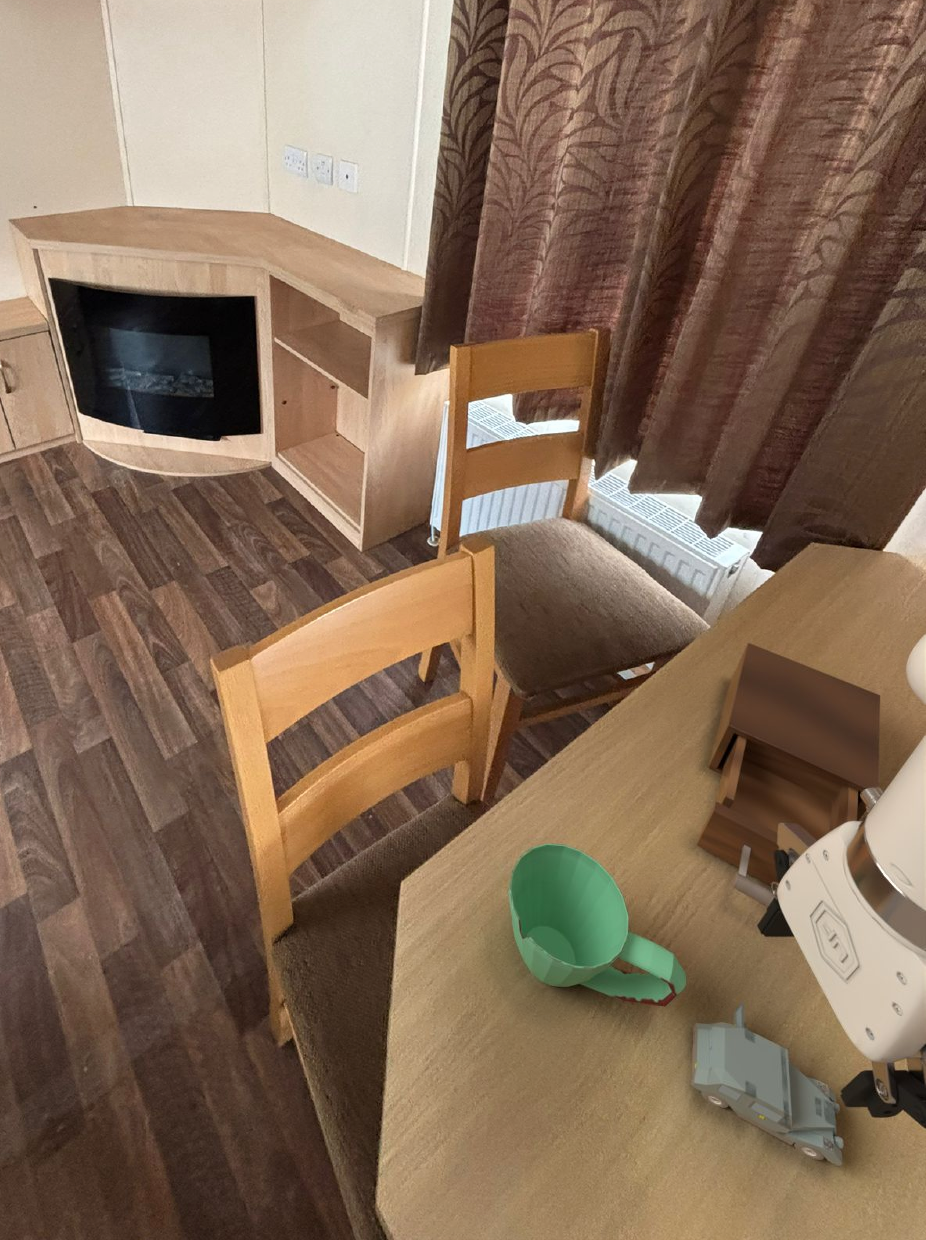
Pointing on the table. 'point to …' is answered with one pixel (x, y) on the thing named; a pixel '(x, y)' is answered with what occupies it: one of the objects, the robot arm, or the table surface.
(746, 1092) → the toy car
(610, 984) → the mug
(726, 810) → the drawer
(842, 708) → the cabinet
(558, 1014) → the table surface
